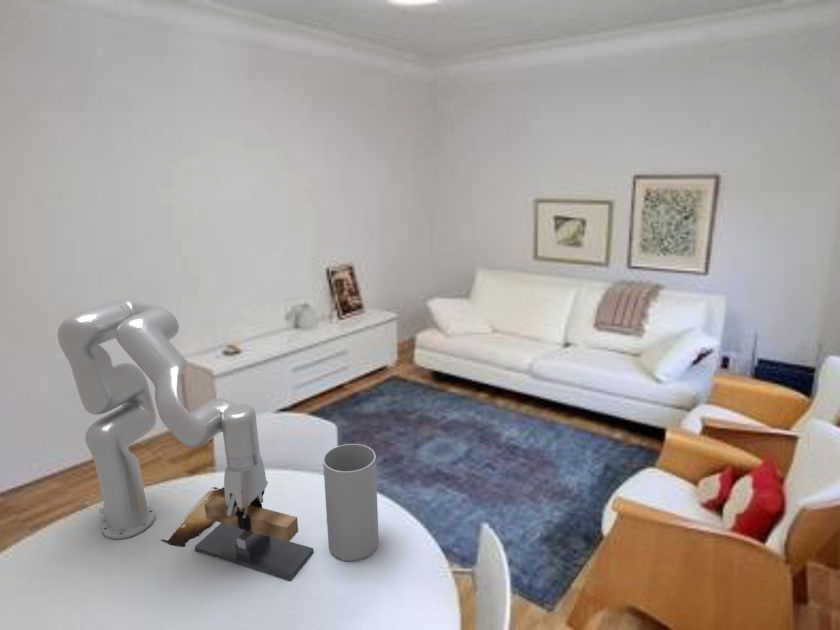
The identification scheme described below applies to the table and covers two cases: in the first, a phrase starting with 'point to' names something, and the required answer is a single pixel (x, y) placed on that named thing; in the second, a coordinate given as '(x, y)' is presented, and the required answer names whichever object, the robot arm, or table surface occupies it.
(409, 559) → the table surface
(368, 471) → the cylinder vase
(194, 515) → the parchment
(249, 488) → the robot arm
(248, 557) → the stand
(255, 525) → the walnut bar
